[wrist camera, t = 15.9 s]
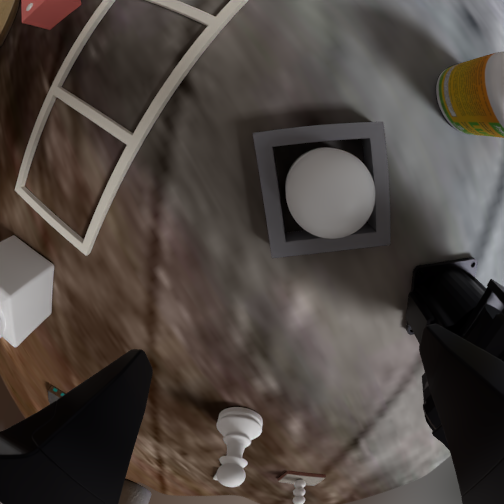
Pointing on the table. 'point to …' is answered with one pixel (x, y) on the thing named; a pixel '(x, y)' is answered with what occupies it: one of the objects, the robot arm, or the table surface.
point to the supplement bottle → (474, 95)
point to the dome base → (280, 240)
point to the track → (107, 123)
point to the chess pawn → (236, 442)
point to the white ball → (329, 192)
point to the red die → (47, 11)
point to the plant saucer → (7, 17)
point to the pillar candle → (134, 494)
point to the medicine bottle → (23, 290)
